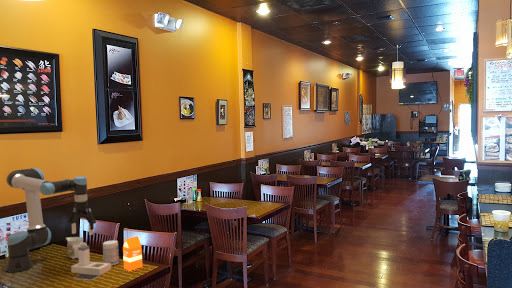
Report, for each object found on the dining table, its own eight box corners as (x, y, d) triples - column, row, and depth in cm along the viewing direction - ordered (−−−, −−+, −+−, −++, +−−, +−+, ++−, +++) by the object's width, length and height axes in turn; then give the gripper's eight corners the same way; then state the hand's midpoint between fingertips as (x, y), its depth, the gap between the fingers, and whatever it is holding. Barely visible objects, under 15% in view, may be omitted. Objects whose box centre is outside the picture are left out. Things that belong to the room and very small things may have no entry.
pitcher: (81, 261, 264) (80, 241, 263) (61, 259, 269) (60, 239, 269) (93, 256, 274) (92, 236, 274) (73, 254, 280) (72, 235, 279)
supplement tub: (120, 264, 254) (119, 242, 253) (105, 267, 249) (104, 245, 248) (117, 260, 262) (116, 239, 262) (102, 263, 257) (101, 241, 256)
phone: (91, 281, 227) (91, 279, 227) (73, 279, 231) (73, 277, 231) (99, 277, 234) (99, 275, 234) (82, 275, 238) (82, 273, 238)
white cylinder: (79, 269, 243) (78, 247, 243) (84, 267, 248) (83, 245, 247) (85, 270, 242) (83, 248, 242) (90, 267, 246) (89, 245, 246)
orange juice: (123, 269, 245) (122, 238, 244) (136, 265, 251) (134, 235, 250) (130, 271, 239) (128, 240, 239) (142, 267, 246) (141, 236, 245)
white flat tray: (71, 272, 242) (71, 266, 242) (83, 267, 252) (82, 261, 251) (100, 275, 235) (99, 268, 235) (111, 269, 245) (110, 263, 244)
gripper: (61, 201, 245) (62, 234, 246) (92, 202, 237) (94, 236, 238) (70, 199, 252) (71, 231, 253) (101, 200, 244) (102, 233, 245)
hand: (82, 234), depth 246 cm, fingers open, 13 cm apart
